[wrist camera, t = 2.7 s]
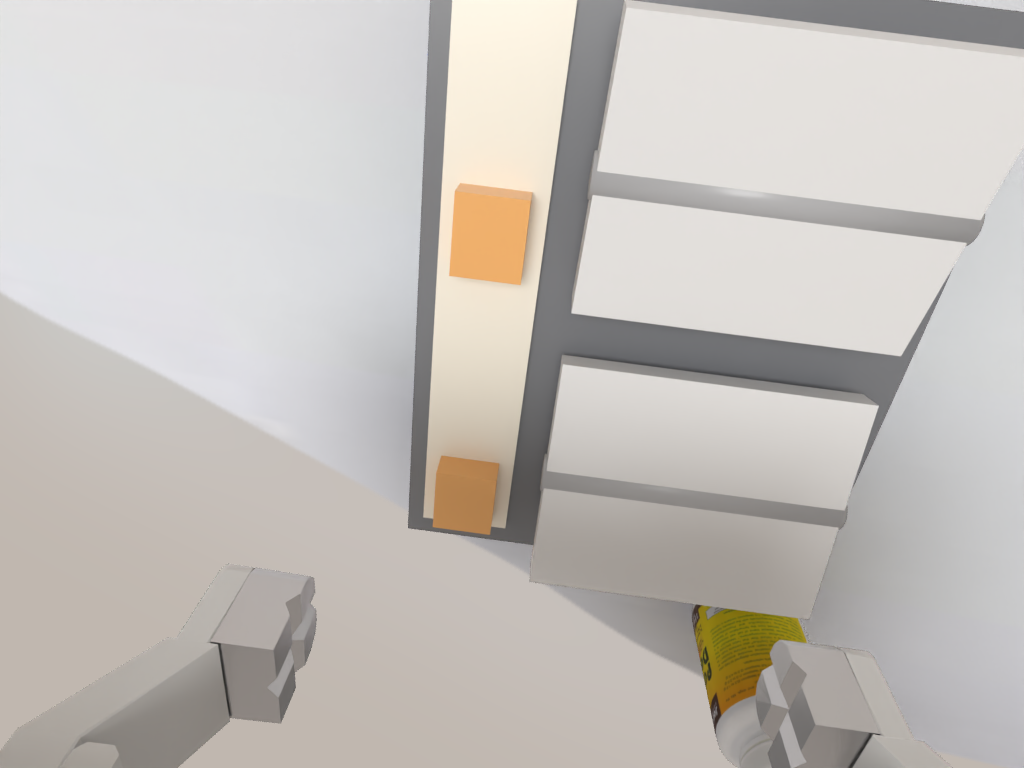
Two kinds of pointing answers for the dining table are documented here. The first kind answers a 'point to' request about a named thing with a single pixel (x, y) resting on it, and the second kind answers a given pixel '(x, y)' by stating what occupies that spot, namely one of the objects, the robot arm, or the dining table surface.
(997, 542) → the dining table surface
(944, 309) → the dining table surface
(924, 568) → the dining table surface
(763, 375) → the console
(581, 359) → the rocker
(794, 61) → the rocker
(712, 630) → the supplement bottle
